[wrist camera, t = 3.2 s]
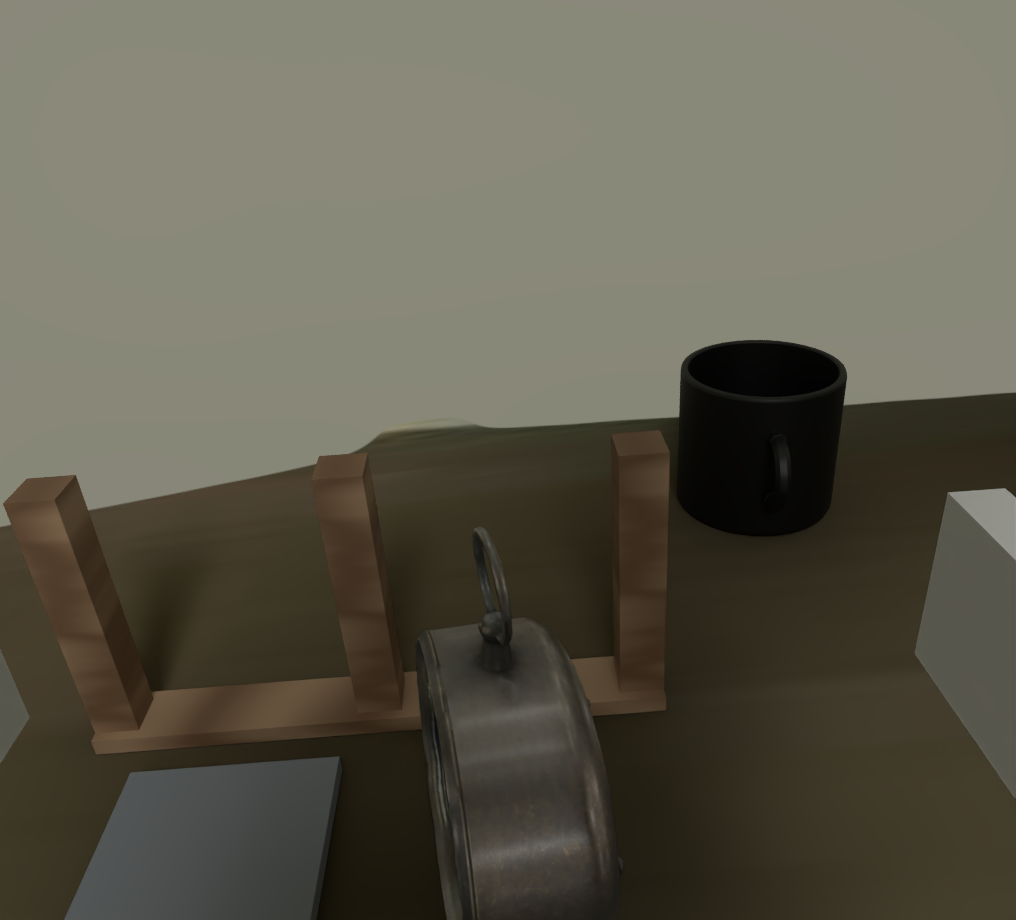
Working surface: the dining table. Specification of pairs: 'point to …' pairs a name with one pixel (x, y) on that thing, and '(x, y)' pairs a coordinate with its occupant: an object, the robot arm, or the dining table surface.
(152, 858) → the pad
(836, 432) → the mug
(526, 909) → the alarm clock
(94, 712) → the slalom posts
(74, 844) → the dining table surface
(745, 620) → the dining table surface
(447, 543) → the dining table surface
